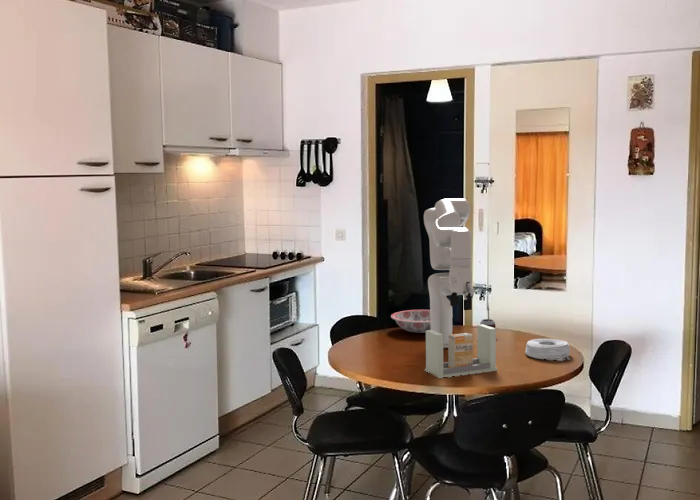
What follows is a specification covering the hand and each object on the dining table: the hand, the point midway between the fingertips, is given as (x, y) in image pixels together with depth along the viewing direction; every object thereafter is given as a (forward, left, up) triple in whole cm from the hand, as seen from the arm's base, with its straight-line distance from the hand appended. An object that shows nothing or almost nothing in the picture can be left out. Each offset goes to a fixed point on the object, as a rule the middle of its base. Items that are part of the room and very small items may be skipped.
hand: (460, 307), depth 273 cm
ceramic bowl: (-68, +19, -25) cm, 74 cm away
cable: (-4, +43, -25) cm, 50 cm away
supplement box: (0, 0, -24) cm, 24 cm away
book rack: (0, 0, -24) cm, 24 cm away
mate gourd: (-44, +40, -25) cm, 64 cm away
